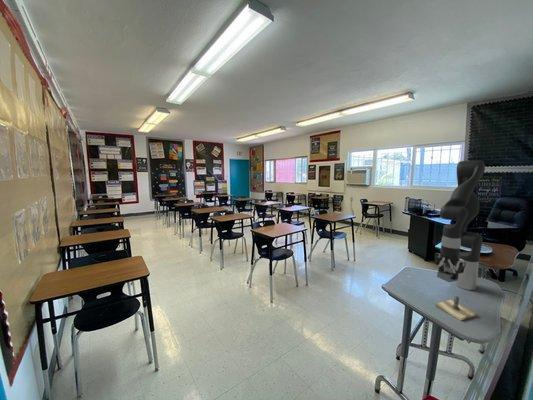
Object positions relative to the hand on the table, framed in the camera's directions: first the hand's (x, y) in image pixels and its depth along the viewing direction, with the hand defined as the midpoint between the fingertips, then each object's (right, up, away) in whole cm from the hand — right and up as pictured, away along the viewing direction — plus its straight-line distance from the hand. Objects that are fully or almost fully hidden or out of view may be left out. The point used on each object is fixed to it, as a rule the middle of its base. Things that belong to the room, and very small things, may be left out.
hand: (447, 276), depth 117 cm
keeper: (+2, -16, -2) cm, 17 cm away
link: (0, -1, 0) cm, 1 cm away
